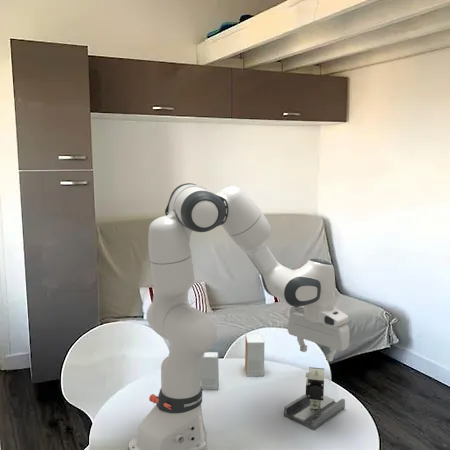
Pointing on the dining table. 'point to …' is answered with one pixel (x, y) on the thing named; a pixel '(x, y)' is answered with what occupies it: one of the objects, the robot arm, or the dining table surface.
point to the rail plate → (313, 411)
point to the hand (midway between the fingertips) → (316, 355)
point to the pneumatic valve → (315, 387)
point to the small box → (254, 354)
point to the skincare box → (210, 371)
